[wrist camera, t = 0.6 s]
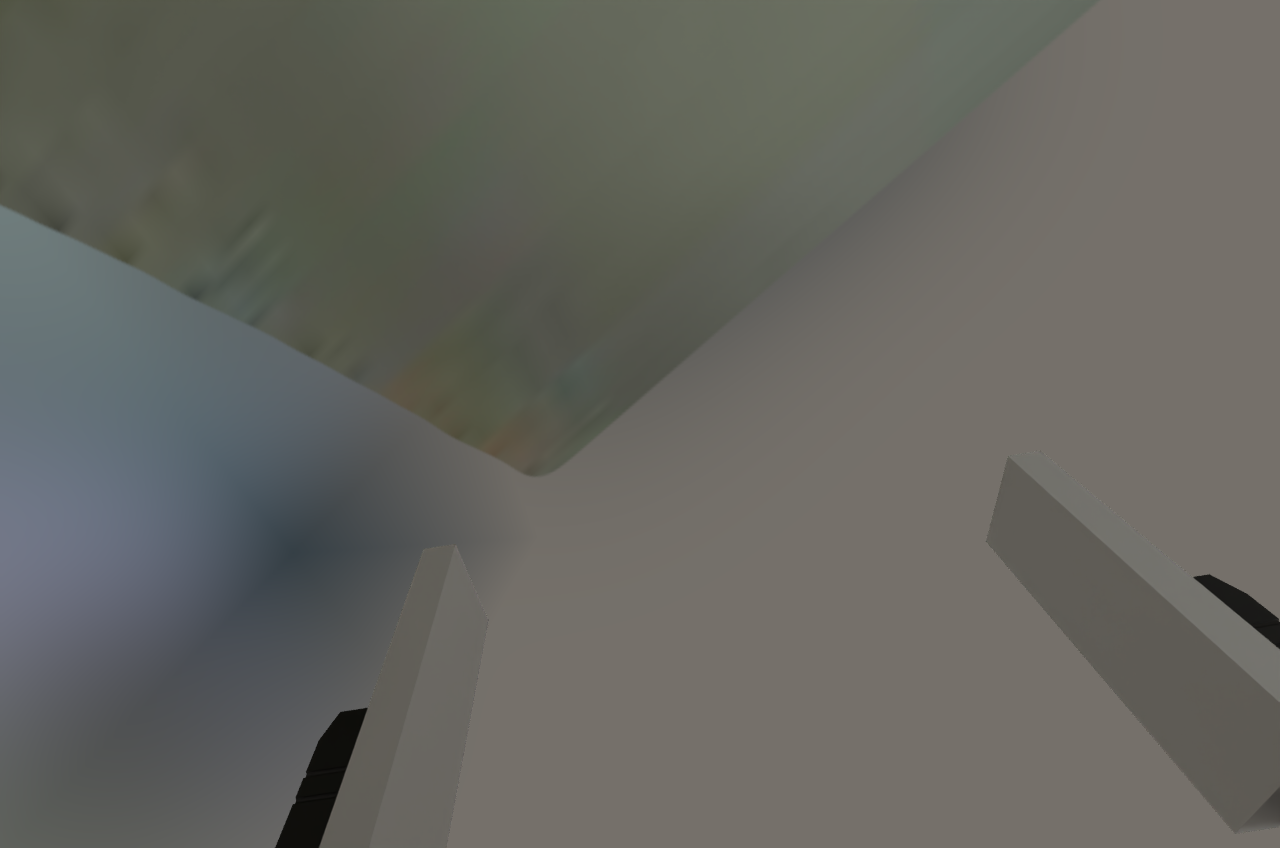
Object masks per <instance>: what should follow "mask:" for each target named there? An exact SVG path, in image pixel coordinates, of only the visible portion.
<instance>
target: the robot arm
mask: <svg viewBox="0 0 1280 848" xmlns="http://www.w3.org/2000/svg"><path fill="white" fill-rule="evenodd" d="M986 542H987V543H988V545H989V546H990V547H991V548H992V549H993V550H994V552H996V554H997V555H998V556H999V557H1000V559H1001V560H1002V561H1003V562H1004V563H1005V565H1006V566H1007V567H1008V568H1009V569H1010V570H1011V571H1012V573H1013V574H1014V575H1015V576H1016V577H1017V579H1018V580H1019V581H1020V582H1021V583H1022V584H1023V586H1024V587H1025V588H1026V589H1027V590H1028V591H1029V593H1030V594H1031V595H1032V596H1033V597H1034V599H1035V600H1036V601H1037V602H1038V603H1039V604H1040V606H1041V607H1042V608H1043V609H1044V610H1045V611H1046V613H1047V614H1048V615H1049V616H1050V617H1051V619H1052V620H1053V621H1054V622H1055V623H1056V624H1057V626H1058V627H1059V628H1060V629H1061V630H1062V631H1063V633H1064V634H1065V635H1066V636H1067V637H1068V638H1069V640H1070V641H1071V642H1072V643H1073V644H1074V645H1075V647H1076V648H1077V649H1078V650H1079V651H1080V653H1081V654H1082V655H1083V656H1084V657H1085V658H1086V660H1087V661H1088V662H1089V663H1090V664H1091V665H1092V666H1093V668H1094V669H1095V670H1096V671H1097V672H1098V674H1099V675H1100V676H1101V677H1102V678H1103V679H1104V681H1105V682H1106V683H1107V684H1108V685H1109V687H1110V688H1111V689H1112V690H1113V691H1114V692H1115V694H1116V695H1117V696H1118V697H1119V698H1120V700H1121V701H1122V702H1123V703H1124V704H1125V705H1126V707H1127V708H1128V709H1129V710H1130V711H1131V712H1132V714H1133V715H1134V716H1135V717H1136V718H1137V719H1138V721H1139V722H1140V723H1141V724H1142V725H1143V726H1144V728H1145V729H1146V730H1147V731H1148V732H1149V734H1150V735H1151V736H1152V737H1153V738H1154V739H1155V741H1156V742H1157V743H1158V744H1159V745H1160V746H1161V747H1162V749H1163V750H1164V751H1165V752H1166V754H1167V755H1168V756H1169V757H1170V758H1171V759H1172V760H1173V762H1174V763H1175V764H1176V765H1177V766H1178V768H1179V769H1180V770H1181V771H1182V772H1183V773H1184V775H1185V776H1186V777H1187V778H1188V779H1189V780H1190V781H1191V783H1192V784H1193V785H1194V786H1195V788H1196V789H1197V790H1198V791H1199V792H1200V793H1201V794H1202V796H1203V797H1204V798H1205V799H1206V800H1207V802H1208V803H1209V804H1210V805H1211V806H1212V808H1213V809H1214V810H1215V811H1216V812H1217V813H1218V814H1219V816H1220V817H1221V818H1222V819H1223V820H1224V822H1225V823H1226V824H1227V825H1228V826H1229V827H1230V829H1231V830H1232V831H1233V832H1234V833H1235V834H1237V833H1243V832H1250V831H1257V830H1263V829H1270V828H1276V827H1280V622H1279V619H1278V618H1277V617H1276V616H1275V615H1273V614H1272V613H1271V612H1269V611H1268V610H1267V609H1266V608H1264V607H1263V606H1262V605H1261V604H1259V603H1258V602H1257V601H1256V600H1254V599H1253V598H1252V597H1250V596H1249V595H1248V594H1246V593H1244V592H1242V591H1240V590H1239V589H1237V588H1235V587H1233V586H1231V585H1229V584H1227V583H1225V582H1223V581H1221V580H1219V579H1217V578H1215V577H1213V576H1211V575H1203V576H1197V577H1192V576H1191V575H1189V574H1188V573H1187V572H1186V571H1185V570H1183V569H1182V568H1181V567H1180V566H1179V565H1177V564H1176V563H1175V562H1174V561H1173V560H1171V559H1170V558H1169V557H1168V556H1167V555H1165V554H1164V553H1163V552H1162V551H1160V550H1159V549H1158V548H1157V547H1156V546H1155V545H1153V544H1152V543H1151V542H1150V541H1149V540H1147V539H1146V538H1145V537H1144V536H1143V535H1141V534H1140V533H1139V532H1138V531H1137V530H1135V529H1134V528H1133V527H1132V526H1130V525H1129V524H1128V523H1127V522H1126V521H1124V520H1123V519H1122V518H1121V517H1120V516H1118V515H1117V514H1116V513H1115V512H1114V511H1112V510H1111V509H1110V508H1109V507H1107V506H1106V505H1105V504H1104V503H1103V502H1102V501H1100V500H1099V499H1098V498H1097V497H1095V496H1094V495H1093V494H1092V493H1091V492H1090V491H1088V490H1087V489H1086V488H1085V487H1084V486H1082V485H1081V484H1080V483H1079V482H1077V481H1076V480H1075V479H1074V478H1073V477H1072V476H1070V475H1069V474H1068V473H1067V472H1065V471H1064V470H1063V469H1062V468H1060V467H1059V466H1058V465H1057V464H1056V463H1055V462H1053V461H1052V460H1051V459H1050V458H1049V457H1047V456H1046V455H1045V454H1044V453H1043V452H1041V451H1037V452H1030V453H1024V454H1018V455H1012V456H1008V458H1007V462H1006V466H1005V470H1004V474H1003V478H1002V481H1001V485H1000V489H999V493H998V497H997V501H996V505H995V508H994V512H993V516H992V520H991V524H990V528H989V532H988V535H987V539H986ZM487 625H488V618H487V615H486V613H485V611H484V609H483V606H482V604H481V602H480V599H479V597H478V595H477V593H476V590H475V588H474V586H473V583H472V581H471V579H470V576H469V574H468V572H467V569H466V567H465V565H464V563H463V560H462V558H461V556H460V554H459V551H458V549H457V546H456V544H453V545H447V546H441V547H434V548H428V549H424V550H423V552H422V555H421V558H420V561H419V564H418V567H417V569H416V572H415V575H414V578H413V581H412V584H411V586H410V590H409V592H408V595H407V598H406V601H405V604H404V607H403V609H402V612H401V615H400V618H399V621H398V624H397V626H396V629H395V632H394V635H393V638H392V641H391V644H390V646H389V649H388V652H387V655H386V658H385V661H384V664H383V666H382V670H381V672H380V675H379V678H378V681H377V684H376V686H375V689H374V692H373V695H372V698H371V701H370V704H369V706H368V708H364V709H358V710H351V711H344V712H340V713H339V714H338V716H337V717H336V718H335V720H334V721H333V722H332V724H331V725H330V726H329V728H328V729H327V730H326V732H325V733H324V734H323V736H322V737H321V738H320V740H319V741H318V744H317V747H316V749H315V751H314V754H313V756H312V759H311V761H310V764H309V766H308V768H307V771H306V773H307V775H306V778H303V781H302V783H301V786H300V788H299V791H298V793H297V795H296V803H295V804H293V805H292V808H291V810H290V813H289V815H288V818H287V820H286V823H285V825H284V828H283V830H282V833H281V835H280V838H279V840H278V842H277V845H276V847H275V848H446V847H447V842H448V836H449V831H450V825H451V820H452V814H453V809H454V803H455V798H456V793H457V788H458V782H459V777H460V771H461V766H462V760H463V755H464V750H465V744H466V739H467V734H468V728H469V723H470V717H471V711H472V706H473V701H474V696H475V690H476V685H477V680H478V674H479V669H480V663H481V658H482V653H483V646H484V641H485V636H486V630H487Z"/></svg>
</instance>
